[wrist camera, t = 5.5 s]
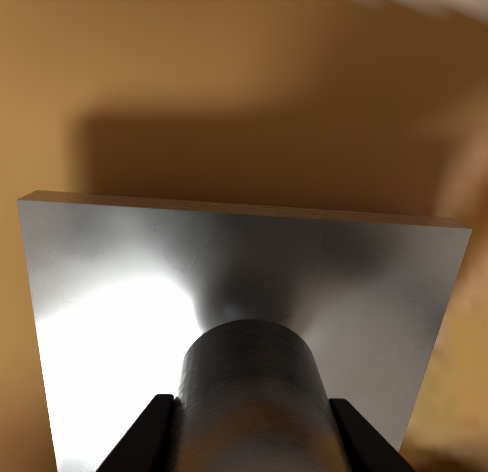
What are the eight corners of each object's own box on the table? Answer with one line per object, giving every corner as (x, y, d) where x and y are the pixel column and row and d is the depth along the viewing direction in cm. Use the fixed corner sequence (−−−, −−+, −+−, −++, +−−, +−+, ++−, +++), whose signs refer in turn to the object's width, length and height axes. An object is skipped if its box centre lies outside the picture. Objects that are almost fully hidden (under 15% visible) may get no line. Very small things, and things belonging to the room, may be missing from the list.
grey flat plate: (426, 204, 12) (472, 229, 10) (328, 562, 19) (341, 624, 17) (59, 179, 11) (16, 199, 9) (99, 564, 18) (81, 630, 16)
